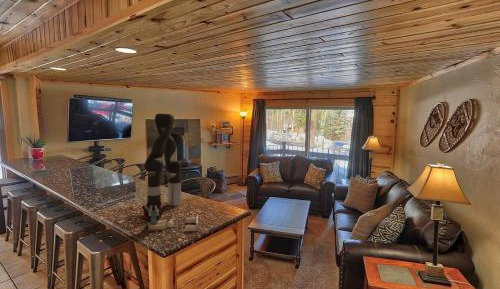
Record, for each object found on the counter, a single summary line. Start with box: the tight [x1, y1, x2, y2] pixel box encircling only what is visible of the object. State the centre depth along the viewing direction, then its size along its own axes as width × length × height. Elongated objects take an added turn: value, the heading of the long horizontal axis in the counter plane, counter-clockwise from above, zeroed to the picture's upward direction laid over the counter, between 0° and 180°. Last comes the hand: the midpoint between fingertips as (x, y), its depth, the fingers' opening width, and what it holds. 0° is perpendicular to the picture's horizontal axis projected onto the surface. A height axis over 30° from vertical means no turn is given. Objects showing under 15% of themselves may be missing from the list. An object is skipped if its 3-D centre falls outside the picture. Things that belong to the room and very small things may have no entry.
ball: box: [166, 220, 175, 228], centre depth 160 cm, size 4×4×4 cm
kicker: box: [147, 211, 167, 230], centre depth 158 cm, size 8×9×9 cm
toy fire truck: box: [142, 206, 163, 222], centre depth 171 cm, size 7×12×10 cm, turn 139°
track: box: [143, 220, 181, 232], centre depth 159 cm, size 9×20×2 cm, turn 100°
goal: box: [185, 214, 199, 232], centre depth 162 cm, size 13×7×4 cm, turn 10°
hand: (154, 221), depth 158 cm, fingers closed on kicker, 3 cm apart
